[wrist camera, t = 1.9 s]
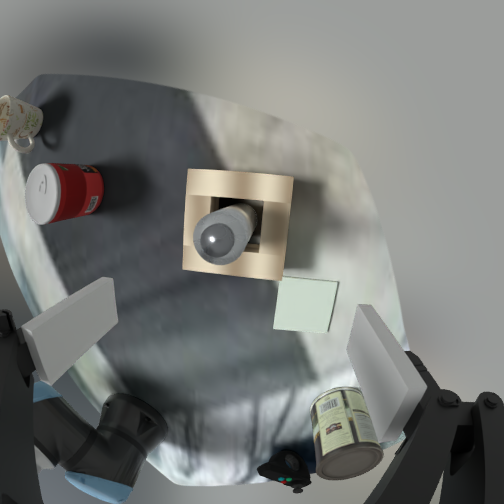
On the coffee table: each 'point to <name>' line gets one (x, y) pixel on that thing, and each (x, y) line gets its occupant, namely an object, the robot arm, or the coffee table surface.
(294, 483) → the controller
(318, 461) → the coffee can
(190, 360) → the coffee table surface
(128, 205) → the coffee table surface
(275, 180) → the housing
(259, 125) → the coffee table surface
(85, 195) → the canned food
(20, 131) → the mug
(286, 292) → the pad
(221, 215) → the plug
